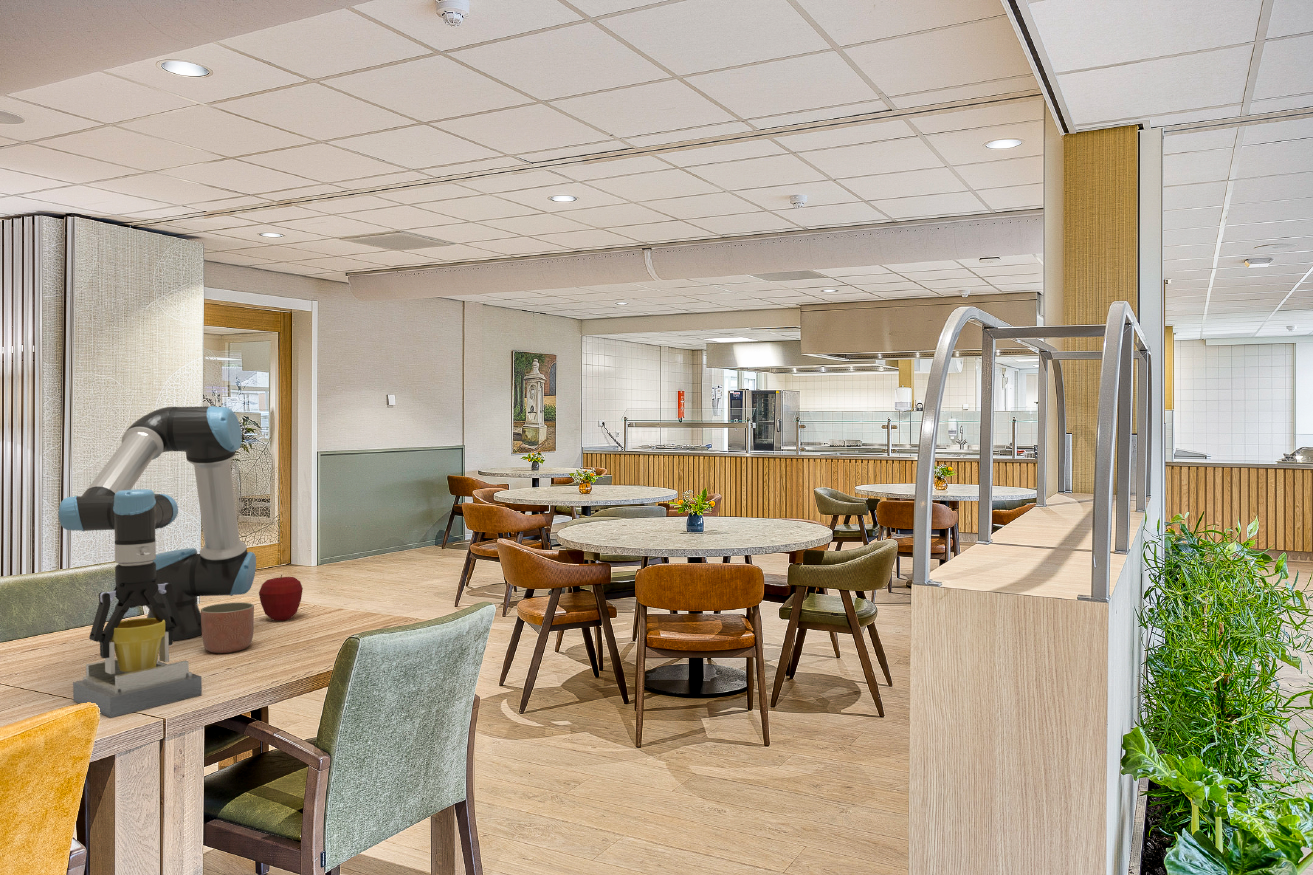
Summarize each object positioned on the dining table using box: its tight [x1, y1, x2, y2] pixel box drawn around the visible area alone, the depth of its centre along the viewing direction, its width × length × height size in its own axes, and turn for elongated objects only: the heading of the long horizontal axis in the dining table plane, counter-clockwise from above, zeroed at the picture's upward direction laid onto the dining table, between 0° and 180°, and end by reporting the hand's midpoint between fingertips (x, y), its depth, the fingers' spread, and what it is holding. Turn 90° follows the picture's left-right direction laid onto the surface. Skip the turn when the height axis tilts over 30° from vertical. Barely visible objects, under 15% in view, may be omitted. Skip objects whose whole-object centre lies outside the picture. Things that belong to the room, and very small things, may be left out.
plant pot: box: [110, 617, 165, 672], centre depth 190 cm, size 10×10×10 cm
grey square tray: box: [72, 657, 203, 719], centre depth 190 cm, size 19×18×8 cm
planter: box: [200, 602, 255, 654], centre depth 230 cm, size 12×12×11 cm
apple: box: [258, 574, 304, 622], centre depth 264 cm, size 12×12×13 cm
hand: (137, 666), depth 190 cm, fingers closed on plant pot, 10 cm apart
